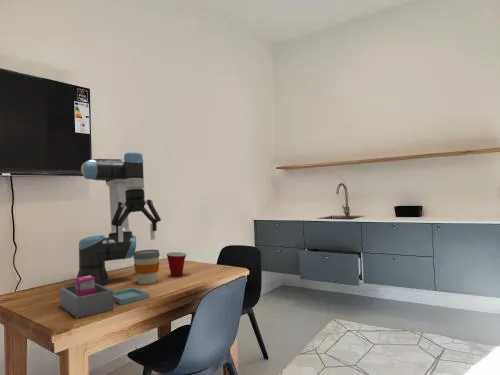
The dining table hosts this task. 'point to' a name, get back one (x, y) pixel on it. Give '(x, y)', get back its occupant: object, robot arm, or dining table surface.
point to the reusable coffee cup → (146, 266)
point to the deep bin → (86, 301)
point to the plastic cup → (176, 263)
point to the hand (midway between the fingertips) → (136, 240)
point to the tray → (129, 295)
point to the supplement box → (85, 286)
